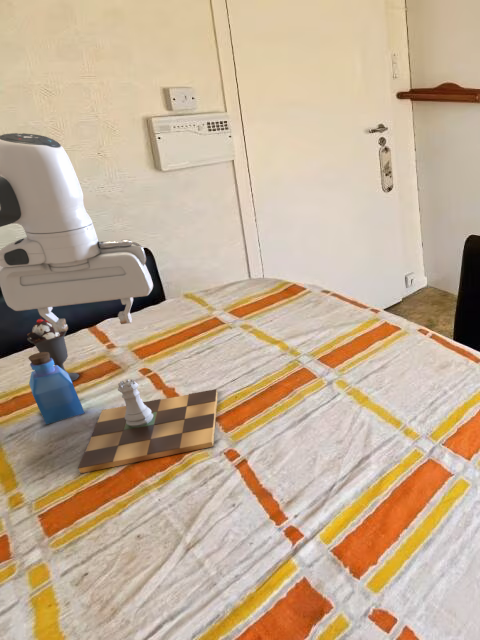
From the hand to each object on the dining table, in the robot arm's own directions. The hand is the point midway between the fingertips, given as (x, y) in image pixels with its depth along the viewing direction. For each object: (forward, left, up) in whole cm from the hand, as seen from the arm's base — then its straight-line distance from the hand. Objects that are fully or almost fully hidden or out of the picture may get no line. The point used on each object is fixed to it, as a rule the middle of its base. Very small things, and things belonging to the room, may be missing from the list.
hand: (94, 326), depth 104 cm
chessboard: (+4, -3, -20) cm, 20 cm away
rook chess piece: (+2, -1, -19) cm, 19 cm away
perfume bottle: (-13, +11, -20) cm, 26 cm away
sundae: (-16, +27, -20) cm, 37 cm away
